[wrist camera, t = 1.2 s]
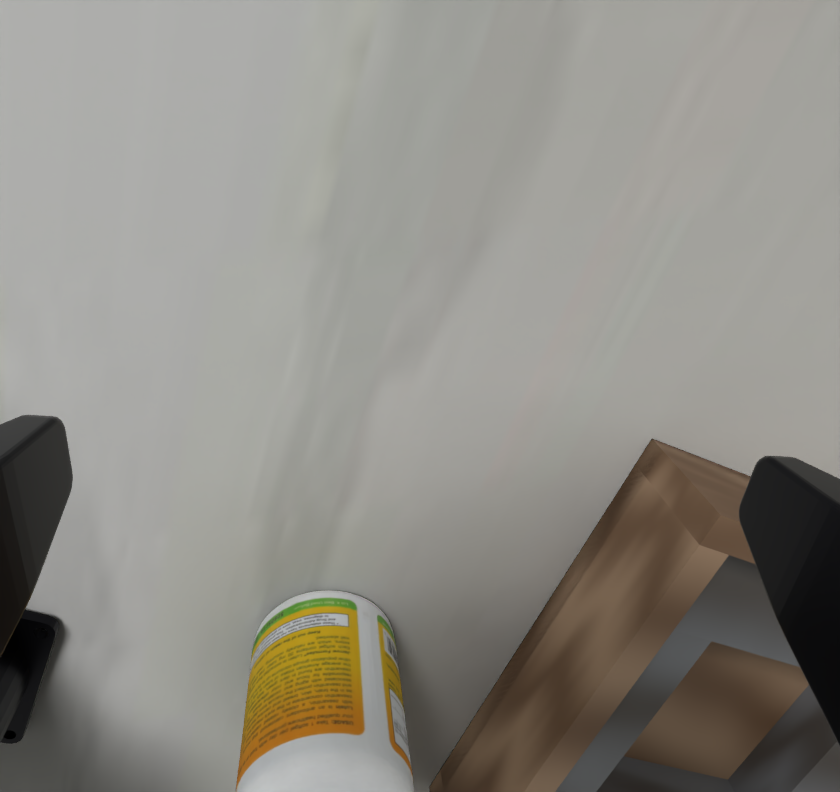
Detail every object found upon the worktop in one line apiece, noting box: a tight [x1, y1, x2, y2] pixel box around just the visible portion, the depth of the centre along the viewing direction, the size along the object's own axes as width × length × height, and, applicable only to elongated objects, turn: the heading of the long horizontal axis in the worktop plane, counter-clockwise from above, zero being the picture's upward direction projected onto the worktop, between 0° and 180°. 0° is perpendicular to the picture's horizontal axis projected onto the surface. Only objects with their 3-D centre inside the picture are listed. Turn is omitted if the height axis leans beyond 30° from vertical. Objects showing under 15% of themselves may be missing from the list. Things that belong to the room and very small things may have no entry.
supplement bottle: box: [236, 590, 414, 792], centre depth 24 cm, size 6×6×10 cm
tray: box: [430, 439, 840, 792], centre depth 30 cm, size 20×18×5 cm
